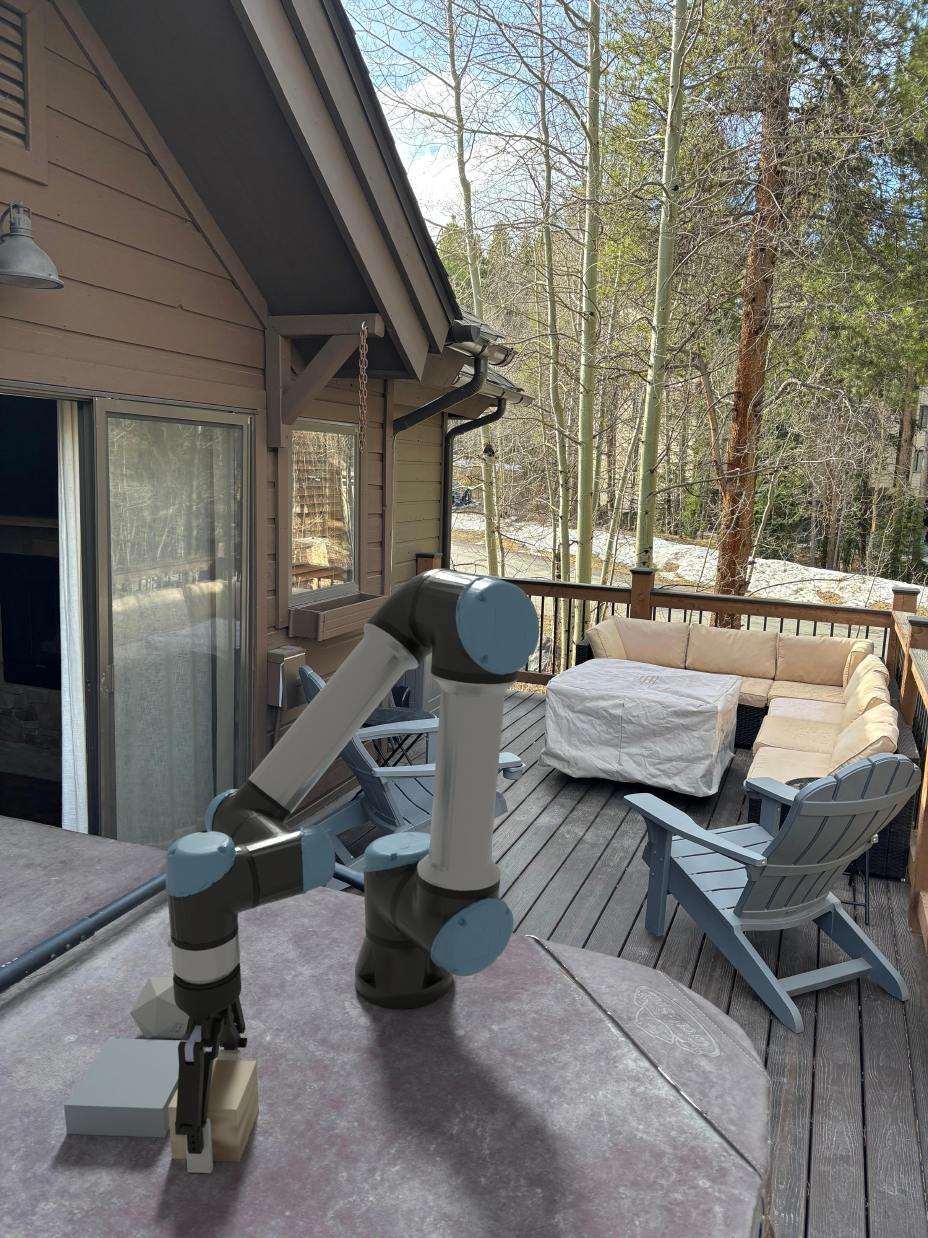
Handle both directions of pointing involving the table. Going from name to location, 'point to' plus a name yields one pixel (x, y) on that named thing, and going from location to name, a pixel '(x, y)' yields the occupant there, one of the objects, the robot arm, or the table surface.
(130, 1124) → the plinth
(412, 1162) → the table surface
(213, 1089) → the maple block
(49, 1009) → the table surface
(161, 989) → the die
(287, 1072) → the table surface
